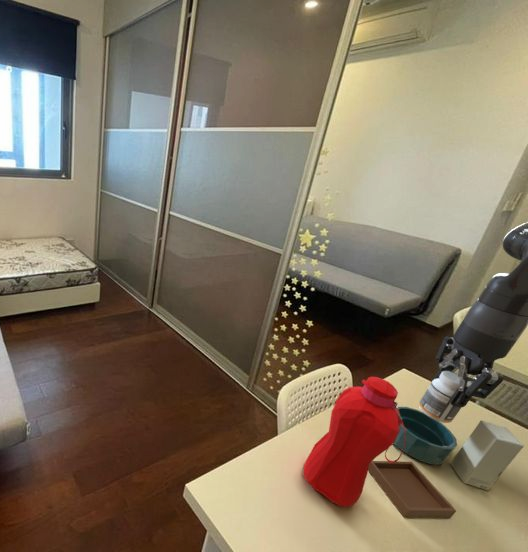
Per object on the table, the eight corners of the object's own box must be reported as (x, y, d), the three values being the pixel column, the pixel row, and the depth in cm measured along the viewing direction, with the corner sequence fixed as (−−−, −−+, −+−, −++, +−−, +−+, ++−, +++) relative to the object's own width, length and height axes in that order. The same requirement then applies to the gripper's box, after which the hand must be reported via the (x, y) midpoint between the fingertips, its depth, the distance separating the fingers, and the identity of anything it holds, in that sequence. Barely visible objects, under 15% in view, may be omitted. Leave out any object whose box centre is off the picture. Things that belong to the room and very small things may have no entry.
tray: (406, 468, 67) (411, 461, 67) (450, 517, 59) (456, 510, 58) (365, 467, 66) (369, 460, 66) (403, 517, 58) (409, 510, 57)
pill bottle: (441, 407, 72) (464, 372, 68) (457, 427, 67) (483, 391, 63) (412, 400, 73) (433, 366, 69) (426, 419, 68) (449, 383, 64)
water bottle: (361, 526, 56) (432, 424, 45) (296, 479, 62) (345, 381, 52) (370, 490, 62) (434, 393, 52) (310, 451, 69) (357, 358, 58)
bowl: (427, 432, 77) (439, 415, 75) (455, 474, 67) (469, 456, 65) (375, 417, 80) (385, 400, 78) (394, 455, 70) (406, 437, 68)
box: (488, 491, 64) (527, 448, 59) (462, 483, 66) (498, 439, 60) (472, 468, 69) (507, 426, 64) (447, 461, 70) (480, 418, 65)
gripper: (547, 354, 53) (491, 426, 60) (488, 314, 66) (448, 377, 73) (492, 342, 55) (444, 413, 62) (445, 306, 68) (409, 368, 75)
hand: (446, 394), depth 67 cm, fingers closed on pill bottle, 5 cm apart
